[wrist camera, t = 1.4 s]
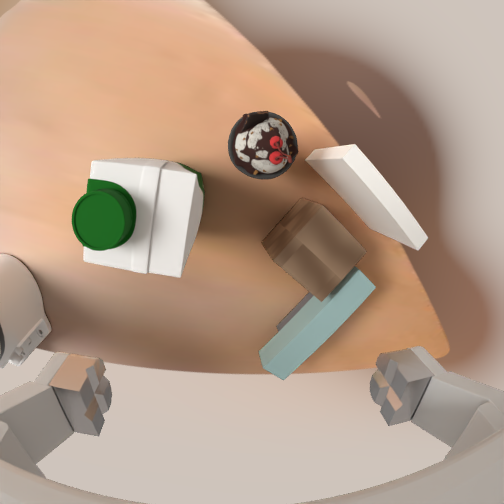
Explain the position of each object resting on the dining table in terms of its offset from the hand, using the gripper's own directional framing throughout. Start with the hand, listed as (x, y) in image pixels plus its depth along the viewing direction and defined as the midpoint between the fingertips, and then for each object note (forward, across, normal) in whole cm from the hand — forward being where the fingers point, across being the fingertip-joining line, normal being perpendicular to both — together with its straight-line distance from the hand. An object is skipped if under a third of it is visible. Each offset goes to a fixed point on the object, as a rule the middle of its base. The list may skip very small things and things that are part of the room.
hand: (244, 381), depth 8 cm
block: (+32, -10, +4) cm, 34 cm away
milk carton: (+32, +7, -2) cm, 33 cm away
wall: (+32, -16, -3) cm, 36 cm away
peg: (+30, -12, +14) cm, 35 cm away
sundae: (+32, -3, -8) cm, 33 cm away
